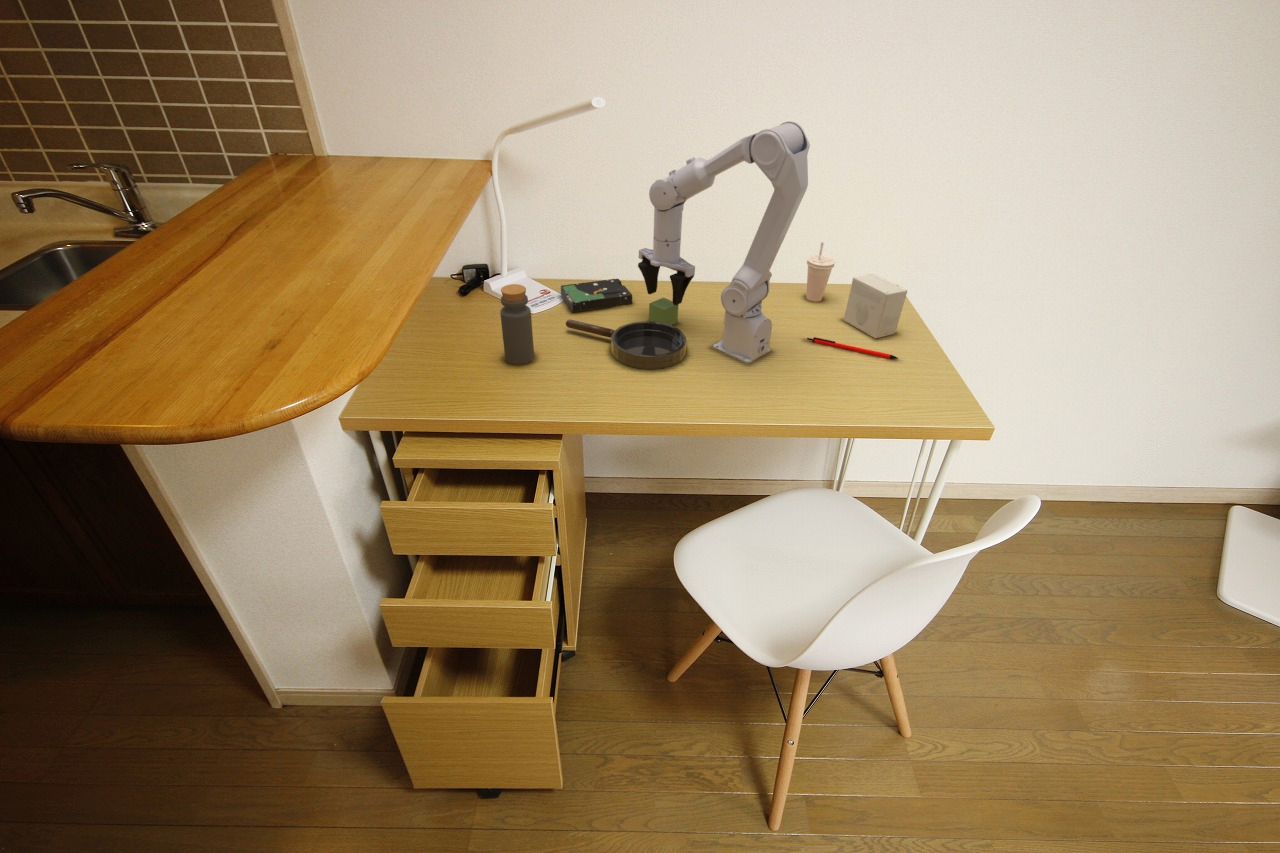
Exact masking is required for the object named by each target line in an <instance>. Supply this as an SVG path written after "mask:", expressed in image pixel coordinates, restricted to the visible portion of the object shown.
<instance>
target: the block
mask: <svg viewBox="0 0 1280 853" xmlns="http://www.w3.org/2000/svg"><path fill="white" fill-rule="evenodd" d="M648 304H649V305H648V321H652V322H660V323H665V324H668V325H671V326H673V325H675V324H677V323H678V317H679V305H680V304H678V305H673V300H671V299H669V298H667V297H664V296H663V297H660V298H658V299H656V300H653V301H651V302H649V303H648Z"/></svg>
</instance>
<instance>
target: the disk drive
mask: <svg viewBox="0 0 1280 853" xmlns="http://www.w3.org/2000/svg"><path fill="white" fill-rule="evenodd" d="M560 295H561V297H562V299H563V300H564V302H565V304H566V305H567V307H568V309H570V311H571V312H572V313H573V312H575V313H579V312H585V311H593V310H598V309H599V310H600V309H607V308H614V307H620V306H627V305H631V304H633V294H632V292H631V291H630V290H629V289H628V288H627V287H626V285H624V284H622V281H621V280H620V279H619V278H610V279H604V280H596V281H587V282H579V283H570V284H563V285H560Z"/></svg>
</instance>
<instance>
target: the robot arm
mask: <svg viewBox="0 0 1280 853" xmlns="http://www.w3.org/2000/svg"><path fill="white" fill-rule="evenodd" d="M810 147H811V143H810V140H809V138H808V137H807V134H806V132H805V130H804V128H803V127H802V126H801V125H800V124H799V123H797V122H795V121H792V120H791V121H790V120H789V121H784V122H782V123H780V124H779V125H775V126H773V127H771V128H770V127H769V128H764V129H762V130H760V131H758V132H756V133H752V134H750V135H747V136H744V137H742V138H740V139H739V140H737V141H736V142H734V143H732V144H731V145H729V146H728V147H726V148H725V149H723V150H722V151H720V152H718V153H717V154H715V155H714V156H713V157H711V158H709V159H706V158H703V157H697V158H695V156H693V157H690V158H689V159H687V160H686V161H685V162H686V165H684V166H682V167H680V168H679V169H677V170H676V169H673V170H671V171H669V172H668V176H667V177H664V178H659V179H656V180H655V181H654V182H652V184H651V186H650V187H649V192H648V196H649V201H650V203H651V204H652V206H653V207H654V209H653V210H654V211H653V240H652V241H653V243H652V249H651V248H647V247H643V248H640V249H638V259H640V260H641V261H640V262H638V264H637V267H638V269H639V271H640V273H641V275H642V277H643V279H644V284H645V286H646V287H645V288H646V292H647V295H652V294H655V293H657V290H658V283H659V282H658V281H659V273H660V268H661V267H663V268H666V269H670V270H672V271H675V272H676V273H673V274H671V275H669V279H670V282H671V288H672V301H673V305H678V304H679V305H680V304H682V302H683V300H684V296H685V293H686V292H687V289H688V286H689V285H690V283H691V281H692V280H693V278H694V277H695V275H696V274H695V273H696V266H695V265H693V264H691V263H689V261H687V260H685V259H684V258H682V257H681V247H682V246H681V244H682V227H683V226H682V225H683V211H684V208H685V203H686V202H687V201H688V200H689V199H691V198H693V197H695V196H696V195H699V194H700V193H702V192H704V191H706V190H708V189H709V188H711V187H713V185H714V183H715V179H716V176H718V175H720V174H722V173H723V172H726V171H728V170H729V169H731V168H733V167H735V166H737V165H740V164H741V163H743V162H745V163H747V164H750V165H751V164H754V163H755V165H756V166H757V167H758V169H760V171H761V172H762V174H764V176H765V177H766V178H767V179H768V180H769V181H770V182H771V186H772V187H773V192H772V195H771V197H770V199H769V202H768V204H767V206H766V209H765V212H764V214H763V216H762V218H761V221H760V224H759V225H758V227H757V230H756V232H755V235H754V238H753V240H752V242H751V245H750V246H749V249H748V252H747V254H746V256H745V258H744V261H743V263H742V265H741V267H740V268H739V269H738V270H737V272H736V273H735V275H733V277H732V279H731V282H730V283H729V284H727V286H726V287H724V288H723V289H722V292H721V294H720V302H721V305H722V307H723V309H724V321H723V330H722V336H721V337H722V338H721V340H720V341H718V342H717V343H714V344H713V345H712V348H713V349H715V350H717V351H720V352H721V353H724V354H726V355H728V356H730V357H733V358H735V359H737V360H739V361H741V362H744V363H746V364H750V363H752V362H753V361H755V360H757V359H759V358H761V357H763V356H764V355H766V354H768V353H769V352H771V348H770V342H771V337H772V336H771V335H772V329H773V323H772V319H770V318H769V317H768V316H766V315H765V314H764V313H763V312H762V308H763V307H762V306H763V301H764V300H765V299H766V298H767V297H768V295H769V293H770V281H771V278H772V276H773V274H772V272H771V271H770V270H771V268H772V266H773V264H774V262H775V260H776V258H777V254H778V253H779V251H780V248H781V246H782V244H783V242H784V240H785V237H786V235H787V233H788V231H789V229H790V226H791V225H792V222H793V220H794V218H795V216H796V215H797V211H798V209H799V207H800V205H801V202H802V201H803V199H804V196H805V194H806V192H807V189H808V186H809V173H808V172H809V171H808V170H809V169H808V168H809V167H808V164H809V163H808V154H809V150H810ZM679 305H678V306H679Z"/></svg>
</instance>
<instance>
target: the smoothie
mask: <svg viewBox="0 0 1280 853" xmlns="http://www.w3.org/2000/svg"><path fill="white" fill-rule="evenodd" d="M824 244H825V242H823V241H822V242H820V248H819V253H818V255H812V256H811V255H810V256H809V257H808V258H807V261H806V265H807V274H806V275H807V276H806V295H805V296H806V298H805V299H806V300H808V301H809V302H814V303H815V302H817V303H818V302H821V301H822V300H823V297H824V294H825V291H826V288H827V284H828V282H829V279H830V276H831V274H832V270H833V268H835V263H836V262H835V259H833V258H831V257H829V256H825V255H822V254H823V248H824Z"/></svg>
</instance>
